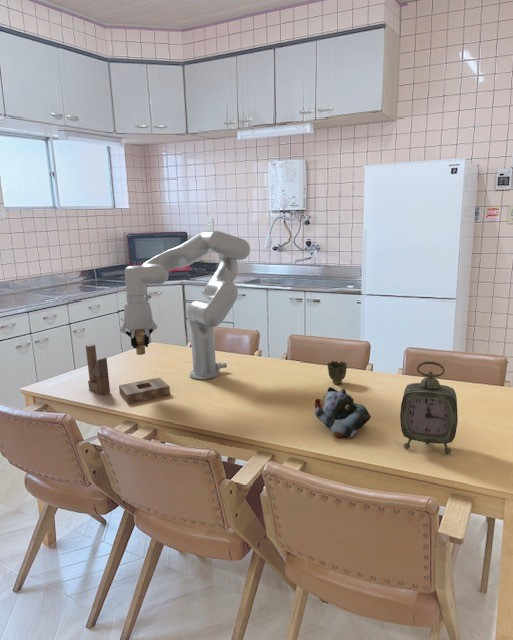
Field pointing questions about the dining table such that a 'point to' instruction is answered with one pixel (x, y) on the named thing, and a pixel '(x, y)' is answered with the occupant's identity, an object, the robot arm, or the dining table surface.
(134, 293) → the robot arm
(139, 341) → the peg
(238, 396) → the dining table surface
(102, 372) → the brown jointed angular part
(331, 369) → the cup
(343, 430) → the lucky cat figurine
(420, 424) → the tabletop clock
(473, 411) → the dining table surface
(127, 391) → the board
